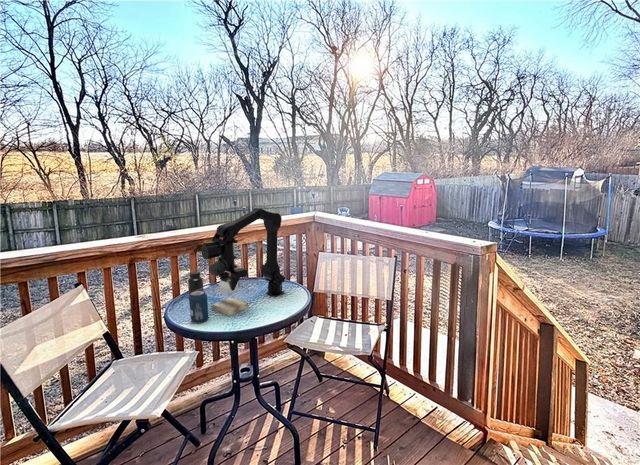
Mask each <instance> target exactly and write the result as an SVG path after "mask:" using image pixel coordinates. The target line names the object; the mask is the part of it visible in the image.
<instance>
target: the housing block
mask: <svg viewBox="0 0 640 465" xmlns="http://www.w3.org/2000/svg"><path fill="white" fill-rule="evenodd" d="M219 286H220V287H219V289H220V290H219V291H220V294H221V295H224V296H227V297H228V296H231V295H233V294H235V293H236V294H237V293H238V292H239V282H238V283H237V285H236V288H235V290H233V291H232V288H231V281H230V279H229V278H225V279H222V280H221V279H219Z"/></svg>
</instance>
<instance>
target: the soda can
mask: <svg viewBox="0 0 640 465" xmlns="http://www.w3.org/2000/svg"><path fill="white" fill-rule="evenodd" d="M188 302H189V314H190V320H191V321H192V323H194V324H202V323H205V322H207V321H208V319H209V315H210V314H209V307H208V306H209V305H208V304H209V303H208V294H207V293H206V291H205V290H204V291H203V290H196V291H193V292H191V293H190V297H189V296H188Z"/></svg>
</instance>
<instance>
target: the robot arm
mask: <svg viewBox="0 0 640 465" xmlns="http://www.w3.org/2000/svg"><path fill="white" fill-rule="evenodd" d="M259 219H260V220H262V221H263V226H264V228H265V230H266V255H265V256H266V258H265V259H266V260H265V262H264V264H262V265H261V271H260V272H261V274H262V277H264V279H265V281H268V282H267V292H266V295H270V296H273V297H278V296H281V295H283V294H284V293H286V292H285V291H284V290H283V283H285V280H286V277H285V276H284V275H283V274H282V273H281V269H280V265H279V263H278V231H279V230H280V228H281V225H282V219H283V218H282V215H281V214H280V213H278V212H271V211H267V210H266V209H263V208H258V207H256V208H253V209H252V210H251V211H249V212H247V213H245V214H244V215H242V216H240V217H239V218H237V219H235V220H233V221H229V222H225V223H223V224H219V225H218V226H217V227H216V232H215V233H214V234H213V235H214V236H213V237H212V239H211V241H208V242H207V241H205V242H203V245H202V247H201V249H200V252H201V255H202V258H203V259H204V260H210V259H214V258H217V262H214V263H213V264H211V265H210V266H209V267H208V271H209V272H210V275H211V276H212V275H213V276H215V277H219V280H222V279H225V278H229V279H230V281H231V288H232V291H233V290H235V288H236V285H237V283H238V284H239V281H240V279H241V278H244V277H247V276H248V273H249V272H248V270H247V269H246V268H243V267H239V268H238V269H235V268H237V265H238V264H237V265H235V264H236V263H235V260H236V259H237V256H236V255H235V251H234V250H235V249H234V244H237V243H239V241H238V240H237V239H235V237H236V236H237V235H238V234H239V232H240V231H241V230H243V229H244V228H246V227H247V226H249V225H250V224H252V223H254V222H256V221H258V220H259ZM229 273H231V276H229Z"/></svg>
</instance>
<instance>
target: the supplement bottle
mask: <svg viewBox="0 0 640 465" xmlns="http://www.w3.org/2000/svg"><path fill="white" fill-rule="evenodd" d="M187 289H188V298H189V297H190V293H191V292H193V291H196V290H203V291H205V290H204V289H205V288H204V279H203V277H202V276H201V272H200V271H197V270H194V271H190V272H189V278H188V280H187Z"/></svg>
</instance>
